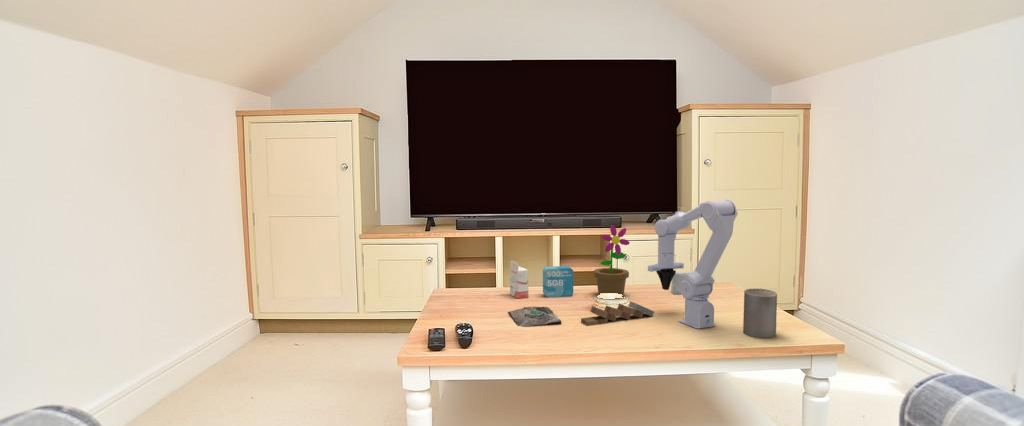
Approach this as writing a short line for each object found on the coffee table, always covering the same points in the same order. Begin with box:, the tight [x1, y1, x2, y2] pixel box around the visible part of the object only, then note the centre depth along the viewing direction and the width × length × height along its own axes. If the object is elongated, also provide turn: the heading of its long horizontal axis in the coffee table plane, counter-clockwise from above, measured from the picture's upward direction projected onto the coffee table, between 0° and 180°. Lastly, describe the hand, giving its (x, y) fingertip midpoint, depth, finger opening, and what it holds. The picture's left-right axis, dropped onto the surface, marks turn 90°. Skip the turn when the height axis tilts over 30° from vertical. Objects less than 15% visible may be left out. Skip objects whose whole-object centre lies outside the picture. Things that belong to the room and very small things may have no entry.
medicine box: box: [670, 271, 691, 295], centre depth 229 cm, size 8×4×9 cm, turn 84°
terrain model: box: [507, 306, 562, 328], centre depth 196 cm, size 20×15×3 cm
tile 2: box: [616, 303, 644, 319], centre depth 194 cm, size 4×2×8 cm
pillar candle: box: [742, 287, 778, 339], centre depth 175 cm, size 10×10×15 cm
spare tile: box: [628, 301, 655, 317], centre depth 196 cm, size 4×2×8 cm
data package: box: [542, 265, 574, 298], centre depth 226 cm, size 12×4×12 cm, turn 99°
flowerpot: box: [593, 224, 631, 296], centre depth 225 cm, size 14×14×30 cm
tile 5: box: [580, 315, 609, 327], centre depth 189 cm, size 4×2×8 cm
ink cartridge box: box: [509, 260, 529, 299], centre depth 226 cm, size 9×5×15 cm, turn 25°
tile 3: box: [603, 305, 632, 321], centre depth 193 cm, size 4×2×8 cm
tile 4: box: [590, 306, 618, 322], centre depth 190 cm, size 4×2×8 cm
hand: (665, 289), depth 199 cm, fingers closed
